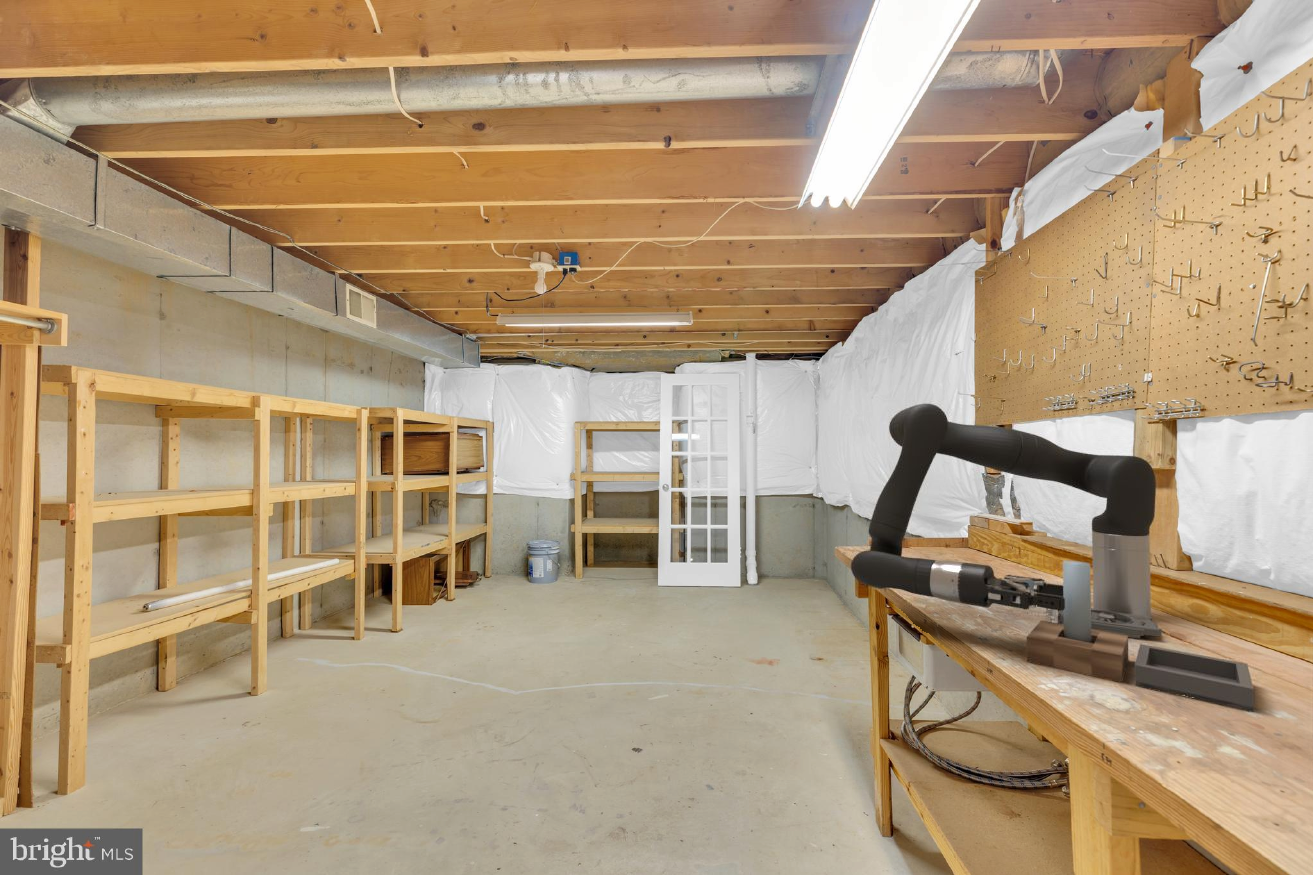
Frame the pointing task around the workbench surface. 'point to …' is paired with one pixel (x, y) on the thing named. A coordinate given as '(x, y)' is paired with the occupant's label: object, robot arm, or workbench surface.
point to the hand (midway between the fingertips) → (1069, 598)
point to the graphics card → (1115, 623)
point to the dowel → (1077, 600)
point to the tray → (1195, 676)
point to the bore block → (1079, 651)
